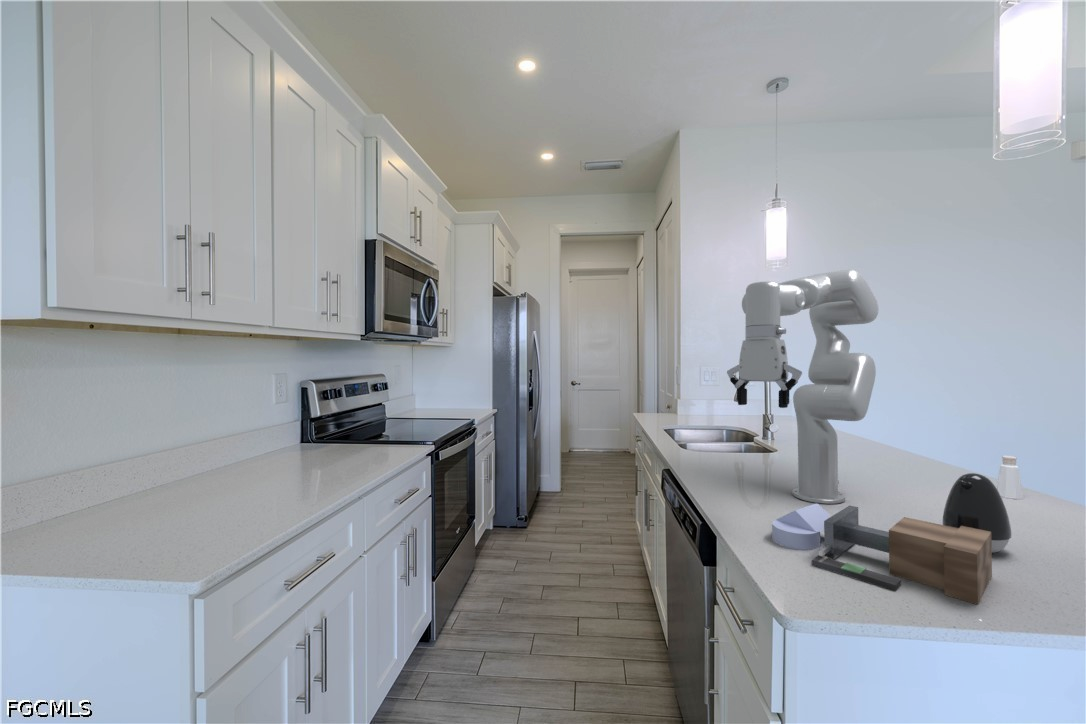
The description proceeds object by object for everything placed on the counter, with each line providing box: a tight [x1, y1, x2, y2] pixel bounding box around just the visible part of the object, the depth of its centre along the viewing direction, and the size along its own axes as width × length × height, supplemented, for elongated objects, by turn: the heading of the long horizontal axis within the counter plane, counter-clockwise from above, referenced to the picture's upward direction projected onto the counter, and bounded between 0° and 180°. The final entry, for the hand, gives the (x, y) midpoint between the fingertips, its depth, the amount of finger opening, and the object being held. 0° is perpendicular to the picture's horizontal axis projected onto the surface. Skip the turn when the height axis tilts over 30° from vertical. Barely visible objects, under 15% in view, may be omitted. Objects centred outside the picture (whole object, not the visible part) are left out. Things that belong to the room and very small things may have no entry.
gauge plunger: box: [818, 504, 889, 560], centre depth 88 cm, size 18×10×7 cm, turn 129°
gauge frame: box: [811, 517, 993, 605], centre depth 84 cm, size 18×22×8 cm
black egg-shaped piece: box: [942, 472, 1013, 554], centre depth 93 cm, size 10×10×15 cm
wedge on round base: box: [771, 503, 831, 551], centre depth 99 cm, size 9×7×13 cm
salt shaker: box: [996, 455, 1024, 500], centre depth 125 cm, size 5×5×11 cm
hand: (762, 406), depth 109 cm, fingers open, 9 cm apart
